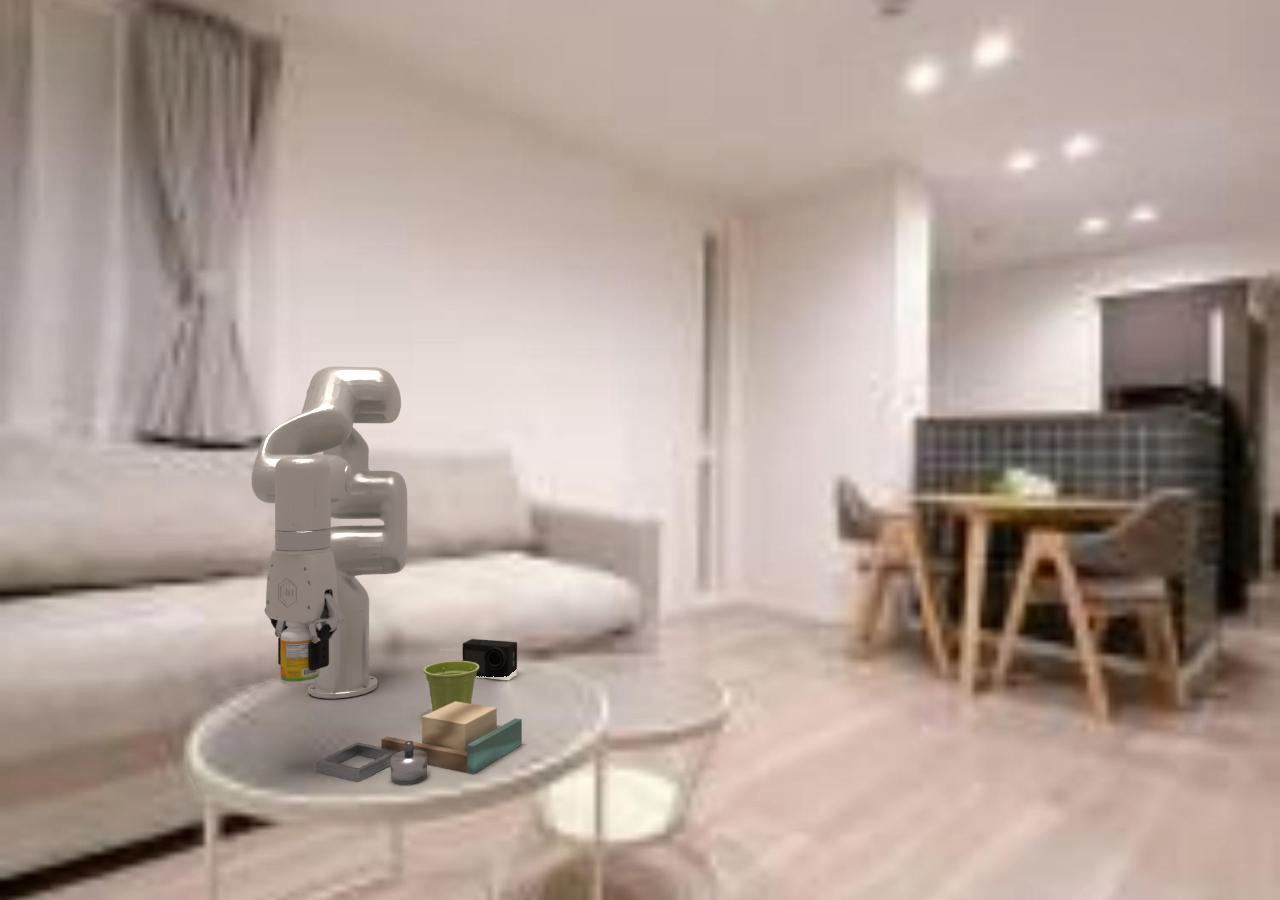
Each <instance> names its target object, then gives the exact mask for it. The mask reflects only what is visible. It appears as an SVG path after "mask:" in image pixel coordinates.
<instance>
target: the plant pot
mask: <svg viewBox="0 0 1280 900" xmlns="http://www.w3.org/2000/svg"><path fill="white" fill-rule="evenodd" d="M478 669H479V665H478V664H476V663H473V662H468V661H463V660H448V661H447V660H446V661H441V662H436V663H432V664H428V665H426V666H425V667H424V668H423V673H424V674H425V676H426V680H427V682H428V688H429V694H430V695H429V696H430V701H431V710H432V712H433V711H435V710H438V709H440V708H442V707H444V706H446V705H448V704H451V703H453V702H455V701H456V702H463V703H469V704H472V698H473V692H474V684H475V679H476V678H475V677H476V673H477V671H478Z"/></svg>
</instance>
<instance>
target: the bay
mask: <svg viewBox="0 0 1280 900" xmlns="http://www.w3.org/2000/svg"><path fill="white" fill-rule="evenodd" d="M497 711H498V709H497V707H493V706H487V705H480V704H476V703H471V704H469V703H463V702H456V701H455V702H453V703H451V704H448V705H446V706H444V707H442V708H440V709H438V710H435V711H433V710H432V711H431V712H428V713H427V714H424V715H423V716H421V719H422V720H421V722H422V723H421V725H422V727H421V737H422V739H421V742H417V741H413V750H422V751H425V752H426V753H427V766H428V765H429V766H434V767H439V768H443V769H449V770H452V771H458V772H463V773H468V774H472V775H475V774H476V773H479V772H481V770H483V769H485V768H486V767H488V766H489V765H491V764H493V763H494V762H496V761H497V760H500V759H501V758H503V757H504V756H506V755H507V754H509V753H511V752H513V751H514V750H515V749H517V748H518V747H520V746H522V744H523V737H522V735H523V734H522V733H523V732H522V730H523V728H522V727H523V726H522V724H523V723H522V722H523V721H522V719H521V718H516V717H515V718H514V719H512V720H510V721H508V722H506V723H504V724H502V725H498V724H497V722H498V721H497V719H498V718H497ZM406 741H409V740H406V739H401V738H397V737H393V736H385V737H383V738H381V742H380V743H381V746H380V747H383V748H388V749H393V750H398V751H399V752H401V751H405V742H406Z"/></svg>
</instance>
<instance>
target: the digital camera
mask: <svg viewBox="0 0 1280 900" xmlns="http://www.w3.org/2000/svg"><path fill="white" fill-rule="evenodd" d="M461 650H462V661H468V662H473V663H476V664H478V665H479V669H478V671H477V673H476V676H479V677H480V676H481V677H482V676H484V677H485V676H486V677H493V676H494V677H504V676H506V677H507V676H509V675H510V674H511V673H512V672H514V671H515V670H516V669H517V670H518V642H517V641H506V640H493V639H492V640H491V639H480V638H479V639H477V638H470V639H469V640H466V641H465V642H463V643H462V649H461Z"/></svg>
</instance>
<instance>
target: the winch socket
mask: <svg viewBox="0 0 1280 900" xmlns="http://www.w3.org/2000/svg"><path fill="white" fill-rule="evenodd" d="M413 742H414V740H408V741H406V742H405V751H401V752H399V751H398V750H393V749H388V748H383V747H381V746H377V745H373V744H367V743H364V742H363V743H362V742H358V741H357V742H355V743H353V744H351V745H349V746H347V747H345V748H342V749H340V750H337V751H335V752H334V753H331V754H330V755H326V756H324V757H323V758H320V759H318V760H316V761H315V772H316V773H319V774H324V775H328V776H333V777H336V778H341V779H345V780H351V781H354V782H358V783H359V782H361V781H363V780H365V779H367V778H368V777H369V778H370V777H371V776H373V775H375V774H376V773H378V772H381V771H382V770H384V769H386V768H389V767H390V782H391V783H392V784H394V785H400V786H409V785H414V784H415V785H416V784H419V783H421V782H423V781H424V780H426V779H427V777H428V764H427V753H426V752H425V751H422V750H413ZM356 756H363V757H367V758H372V759H374V760H372V761H370V762H368V763H366V764H364V765H362V766H360V767H356V766H351V765H347V764H343V762H345V761H347V760H349V759H352V758H354V757H356ZM408 784H409V785H408Z"/></svg>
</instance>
